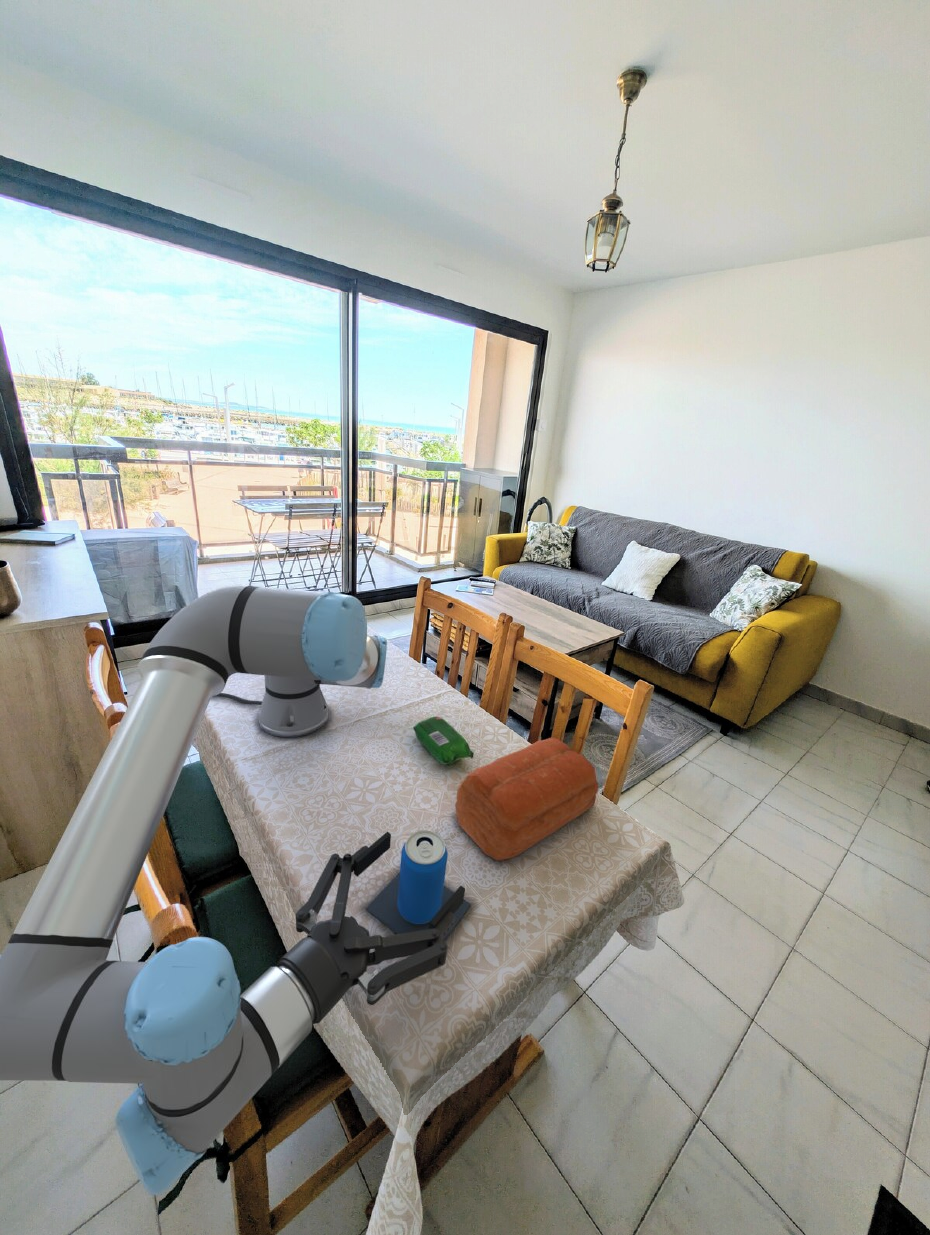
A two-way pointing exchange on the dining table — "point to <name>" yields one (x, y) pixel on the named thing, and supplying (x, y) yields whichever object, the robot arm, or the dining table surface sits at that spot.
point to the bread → (525, 797)
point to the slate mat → (389, 913)
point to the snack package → (442, 740)
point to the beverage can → (422, 876)
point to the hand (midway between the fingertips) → (423, 865)
